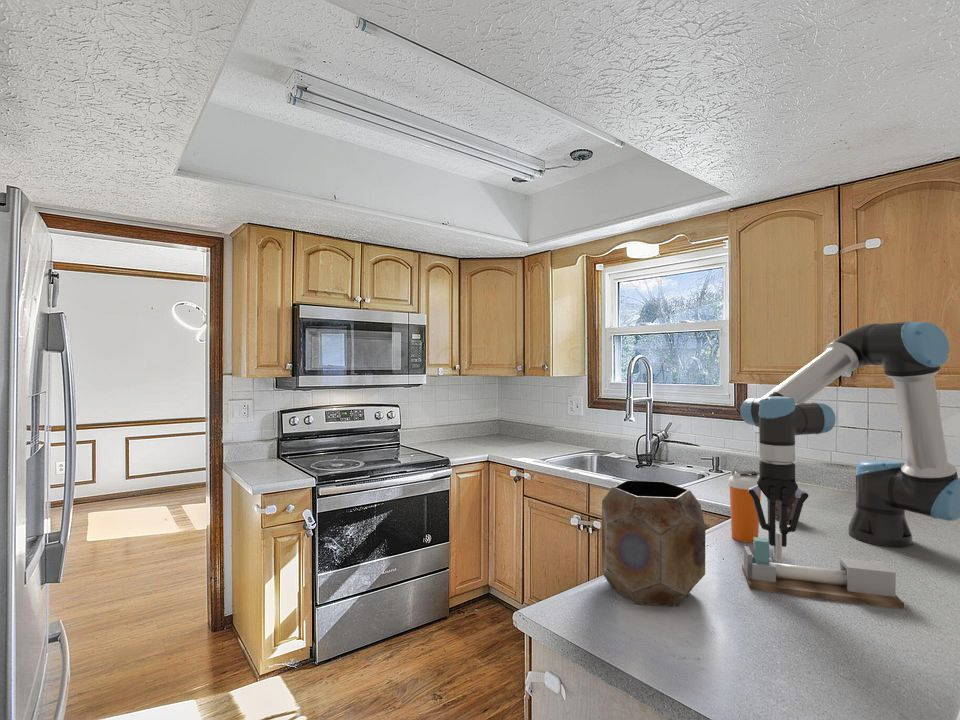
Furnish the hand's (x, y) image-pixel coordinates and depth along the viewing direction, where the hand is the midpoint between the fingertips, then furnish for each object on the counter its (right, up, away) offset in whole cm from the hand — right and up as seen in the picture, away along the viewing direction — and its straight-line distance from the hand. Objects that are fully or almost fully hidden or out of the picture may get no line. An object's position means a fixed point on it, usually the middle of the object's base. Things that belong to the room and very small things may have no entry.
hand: (777, 559), depth 127 cm
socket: (-4, -5, +1) cm, 6 cm away
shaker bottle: (+7, -6, +30) cm, 32 cm away
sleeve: (+17, -5, -6) cm, 19 cm away
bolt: (+5, -4, -1) cm, 6 cm away
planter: (-32, -6, -4) cm, 33 cm away
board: (+8, -6, -2) cm, 10 cm away
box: (+30, -5, +49) cm, 58 cm away
